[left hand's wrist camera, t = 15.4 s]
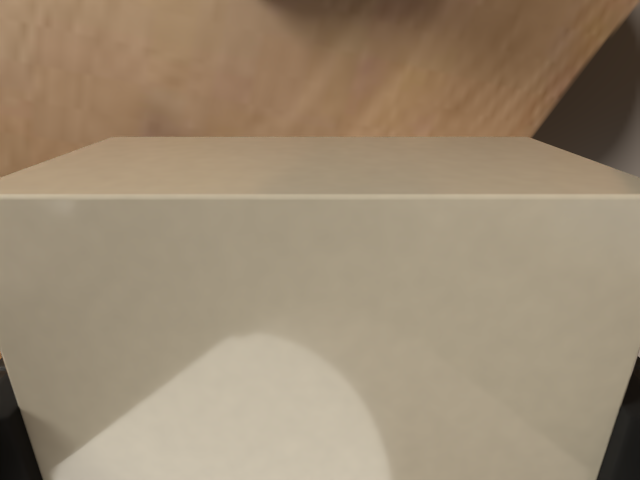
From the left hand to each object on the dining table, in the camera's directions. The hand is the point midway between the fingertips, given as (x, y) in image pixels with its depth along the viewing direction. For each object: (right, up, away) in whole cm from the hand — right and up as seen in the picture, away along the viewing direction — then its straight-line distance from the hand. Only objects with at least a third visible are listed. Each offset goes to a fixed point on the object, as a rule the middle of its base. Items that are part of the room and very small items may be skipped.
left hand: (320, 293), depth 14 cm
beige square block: (0, 0, -1) cm, 1 cm away
